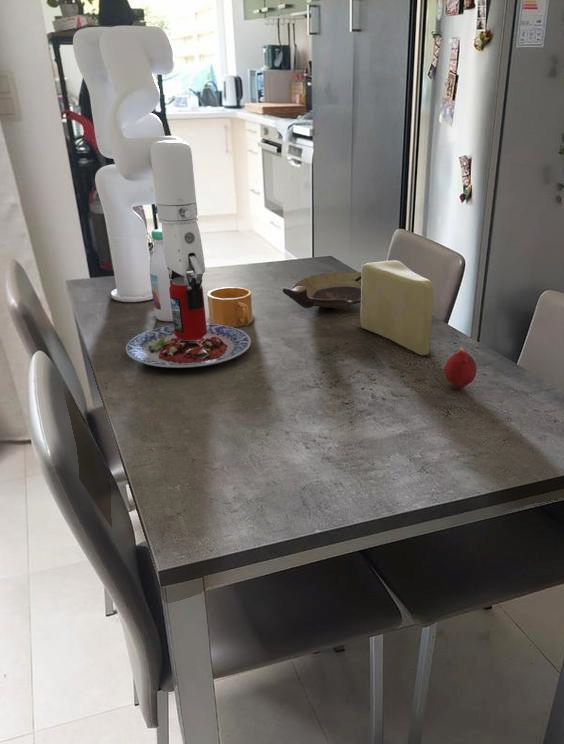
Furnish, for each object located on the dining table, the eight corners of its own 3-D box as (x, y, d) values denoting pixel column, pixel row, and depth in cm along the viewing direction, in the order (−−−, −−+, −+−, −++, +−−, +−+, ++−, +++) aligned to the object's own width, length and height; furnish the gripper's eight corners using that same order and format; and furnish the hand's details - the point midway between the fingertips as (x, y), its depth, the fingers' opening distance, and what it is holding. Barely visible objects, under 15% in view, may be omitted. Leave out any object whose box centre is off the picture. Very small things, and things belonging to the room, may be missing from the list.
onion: (476, 384, 132) (481, 344, 128) (471, 396, 128) (476, 355, 124) (446, 380, 134) (449, 341, 130) (440, 392, 129) (443, 351, 125)
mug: (203, 318, 167) (200, 291, 163) (240, 311, 171) (239, 284, 168) (228, 334, 157) (226, 305, 154) (267, 326, 162) (265, 298, 158)
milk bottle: (191, 312, 170) (182, 227, 160) (183, 322, 164) (173, 234, 153) (161, 311, 171) (150, 226, 161) (151, 321, 164) (139, 233, 154)
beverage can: (176, 332, 149) (170, 275, 143) (208, 331, 149) (203, 275, 143) (173, 343, 143) (166, 284, 137) (206, 342, 144) (200, 284, 137)
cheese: (446, 352, 147) (452, 281, 139) (406, 359, 143) (410, 287, 135) (395, 322, 164) (398, 257, 156) (358, 327, 160) (360, 261, 153)
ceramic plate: (273, 342, 152) (272, 329, 150) (207, 385, 132) (206, 370, 131) (176, 326, 161) (174, 313, 160) (100, 364, 141) (98, 350, 140)
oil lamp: (401, 308, 173) (402, 277, 169) (292, 326, 162) (291, 293, 158) (357, 286, 190) (358, 257, 186) (256, 300, 179) (254, 270, 175)
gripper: (214, 217, 129) (222, 311, 138) (178, 204, 141) (187, 290, 151) (176, 222, 125) (187, 317, 135) (142, 207, 138) (154, 296, 147)
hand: (187, 302), depth 143 cm, fingers open, 7 cm apart
